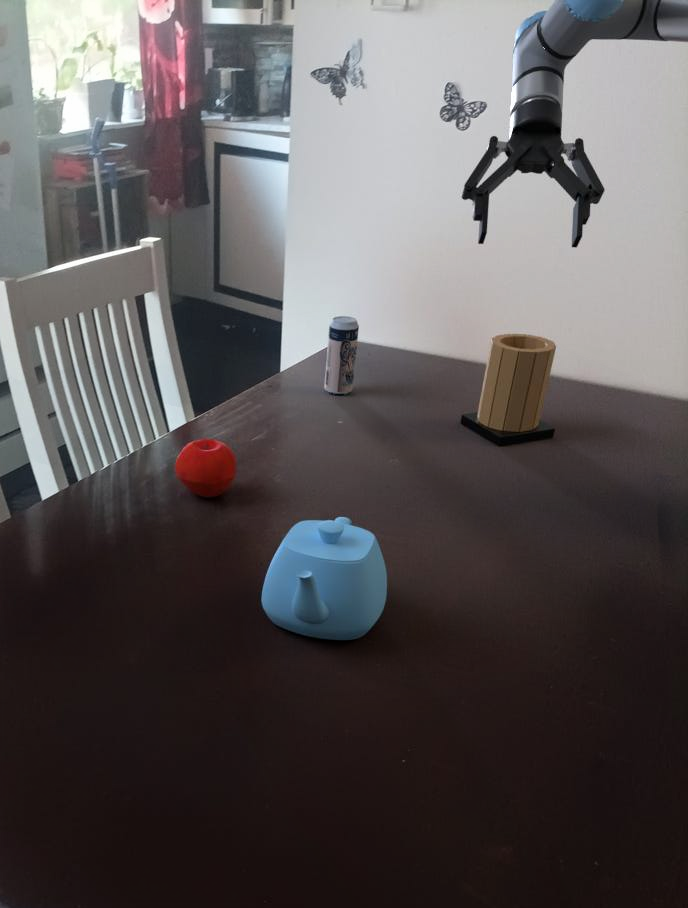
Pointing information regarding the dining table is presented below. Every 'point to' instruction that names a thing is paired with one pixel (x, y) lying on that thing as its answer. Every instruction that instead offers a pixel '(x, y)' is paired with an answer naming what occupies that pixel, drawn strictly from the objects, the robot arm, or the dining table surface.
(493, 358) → the wooden cup
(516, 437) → the peg stand
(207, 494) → the apple
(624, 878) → the dining table surface
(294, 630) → the teapot
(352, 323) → the beer can
